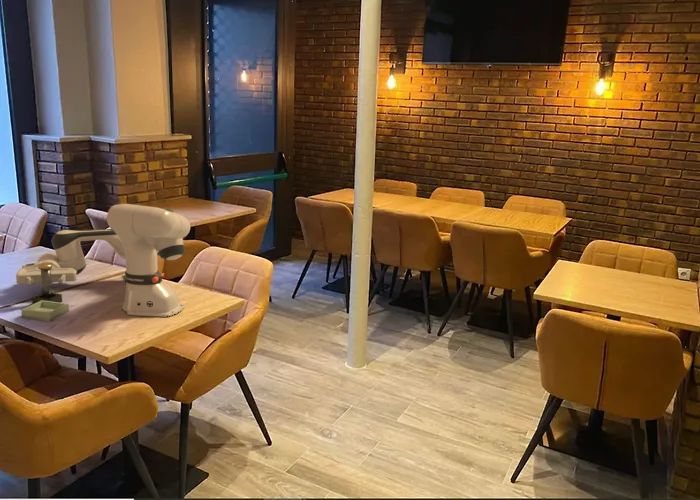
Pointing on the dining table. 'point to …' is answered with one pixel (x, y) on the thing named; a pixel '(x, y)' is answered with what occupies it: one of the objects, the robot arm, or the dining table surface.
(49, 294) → the lock pin
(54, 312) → the tray
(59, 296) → the pin collar
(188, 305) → the dining table surface
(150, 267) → the robot arm
